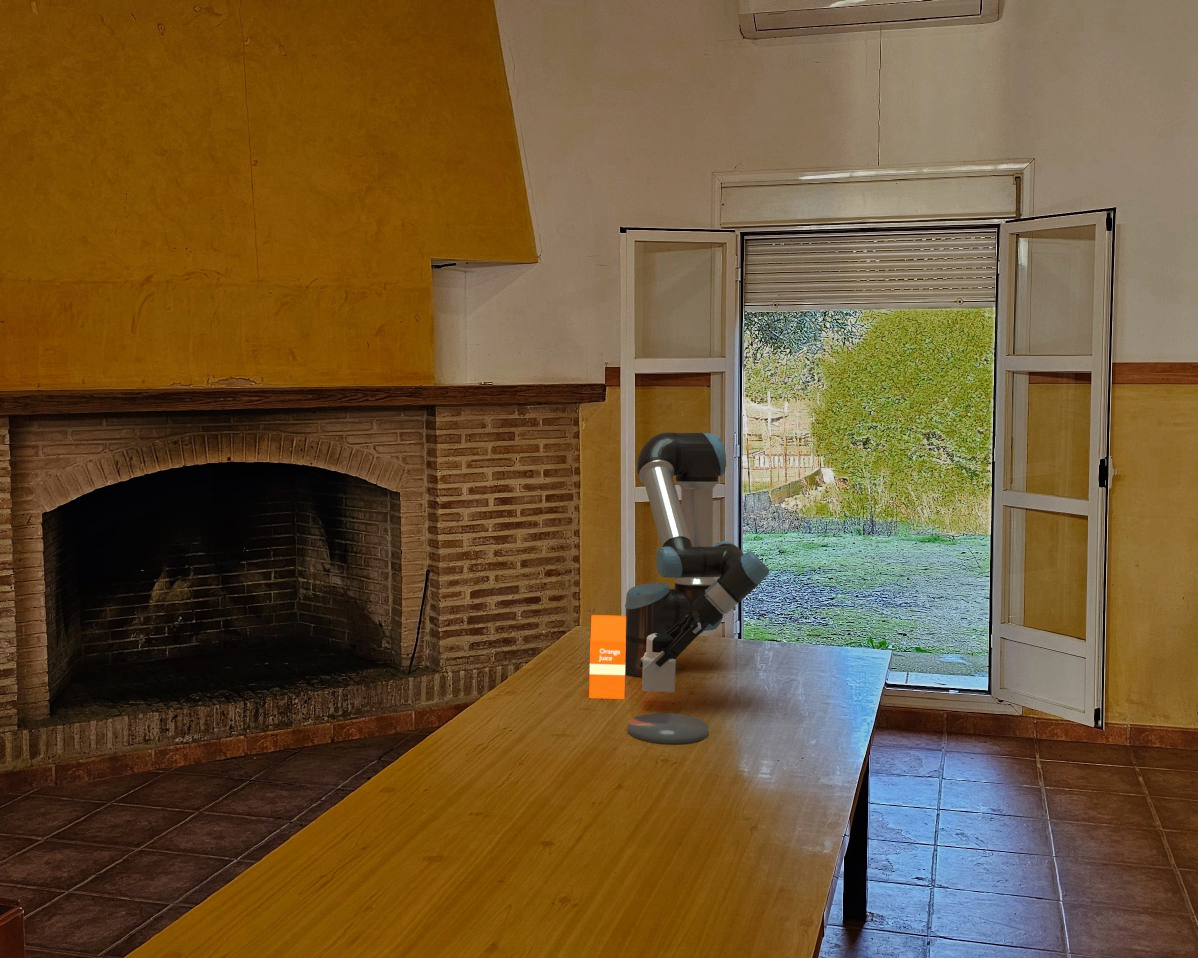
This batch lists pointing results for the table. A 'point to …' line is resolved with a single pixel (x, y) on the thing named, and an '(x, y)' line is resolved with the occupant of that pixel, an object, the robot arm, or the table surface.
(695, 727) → the slate plate
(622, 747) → the table surface
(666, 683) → the container
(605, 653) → the orange juice
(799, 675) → the table surface
